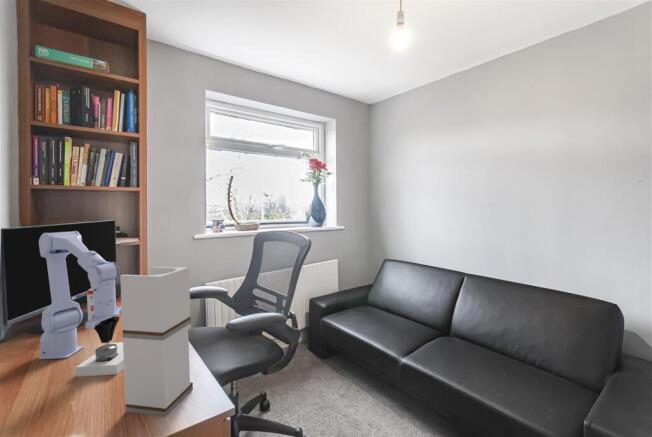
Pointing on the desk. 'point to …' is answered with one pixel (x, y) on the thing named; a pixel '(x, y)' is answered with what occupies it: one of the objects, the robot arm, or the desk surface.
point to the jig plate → (102, 365)
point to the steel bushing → (106, 353)
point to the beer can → (90, 304)
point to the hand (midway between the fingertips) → (106, 341)
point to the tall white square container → (156, 339)
